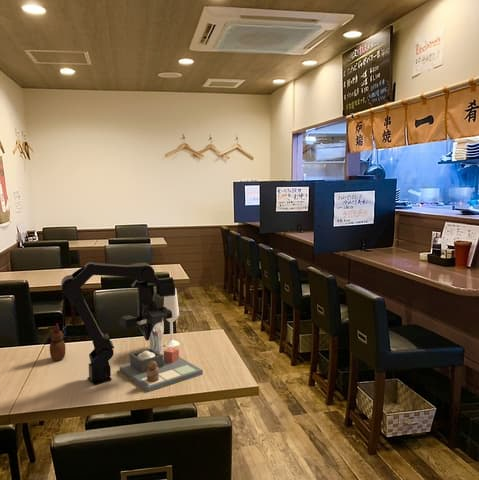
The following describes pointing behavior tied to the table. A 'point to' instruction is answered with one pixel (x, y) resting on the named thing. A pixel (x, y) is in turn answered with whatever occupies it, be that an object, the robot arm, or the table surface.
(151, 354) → the dome button
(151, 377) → the walnut pawn
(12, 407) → the table surface
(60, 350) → the wooden figurine
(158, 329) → the beer glass
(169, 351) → the red die
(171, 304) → the champagne flute
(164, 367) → the game board
